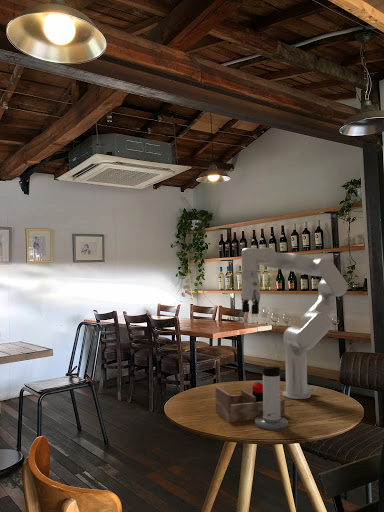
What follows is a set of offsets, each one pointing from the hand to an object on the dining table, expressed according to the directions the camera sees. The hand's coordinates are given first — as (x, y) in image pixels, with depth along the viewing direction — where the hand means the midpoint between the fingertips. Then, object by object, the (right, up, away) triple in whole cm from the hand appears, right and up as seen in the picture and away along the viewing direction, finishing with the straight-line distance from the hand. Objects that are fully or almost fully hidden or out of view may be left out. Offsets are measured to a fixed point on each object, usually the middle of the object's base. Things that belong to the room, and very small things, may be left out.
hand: (250, 313), depth 195 cm
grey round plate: (+3, -36, -36) cm, 51 cm away
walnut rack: (-3, -37, -23) cm, 44 cm away
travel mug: (+3, -35, -36) cm, 51 cm away
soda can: (+2, -37, -22) cm, 43 cm away
